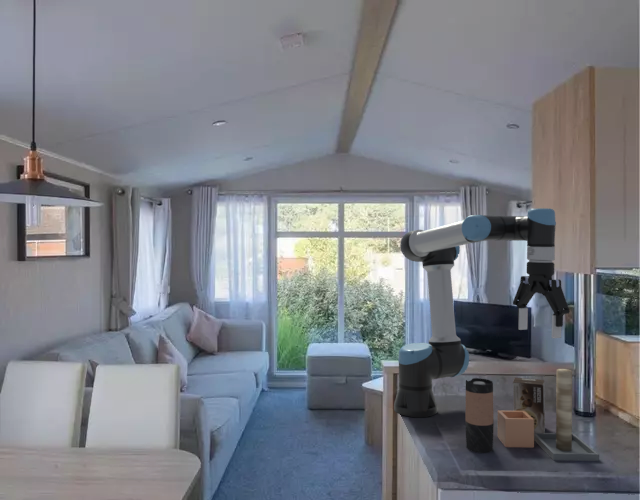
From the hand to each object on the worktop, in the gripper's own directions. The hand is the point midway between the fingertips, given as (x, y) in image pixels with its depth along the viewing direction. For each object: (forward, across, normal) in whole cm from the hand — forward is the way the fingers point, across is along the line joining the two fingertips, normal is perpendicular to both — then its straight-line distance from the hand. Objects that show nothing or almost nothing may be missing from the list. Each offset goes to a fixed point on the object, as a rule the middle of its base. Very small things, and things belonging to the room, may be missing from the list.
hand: (538, 333), depth 156 cm
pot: (+33, -1, -7) cm, 33 cm away
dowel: (+31, +8, +2) cm, 32 cm away
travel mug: (+33, -1, -20) cm, 38 cm away
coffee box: (+33, -9, +5) cm, 35 cm away
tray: (+32, +8, +2) cm, 34 cm away
